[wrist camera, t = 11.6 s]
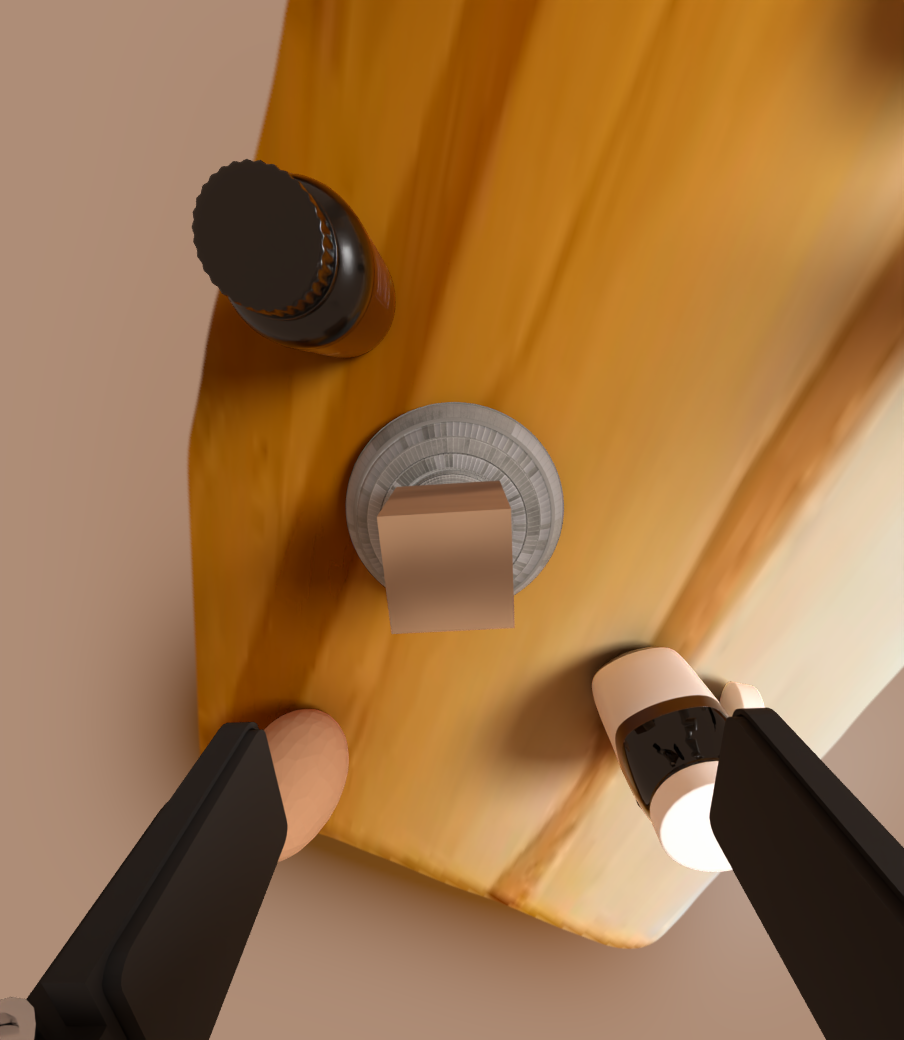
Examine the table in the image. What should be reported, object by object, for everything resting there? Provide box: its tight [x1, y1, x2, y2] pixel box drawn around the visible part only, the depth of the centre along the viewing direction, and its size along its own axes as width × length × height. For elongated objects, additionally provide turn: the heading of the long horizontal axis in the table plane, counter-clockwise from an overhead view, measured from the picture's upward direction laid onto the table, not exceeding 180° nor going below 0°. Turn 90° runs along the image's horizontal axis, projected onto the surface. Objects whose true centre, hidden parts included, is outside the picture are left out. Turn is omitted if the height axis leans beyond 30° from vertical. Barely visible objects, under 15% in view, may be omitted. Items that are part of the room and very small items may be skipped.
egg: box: [264, 709, 349, 862], centre depth 31 cm, size 8×8×11 cm
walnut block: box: [377, 480, 515, 634], centre depth 23 cm, size 6×6×6 cm
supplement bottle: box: [192, 159, 396, 358], centre depth 21 cm, size 7×7×12 cm
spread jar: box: [592, 646, 765, 872], centre depth 29 cm, size 12×11×12 cm
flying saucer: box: [346, 402, 564, 595], centre depth 28 cm, size 15×15×6 cm
